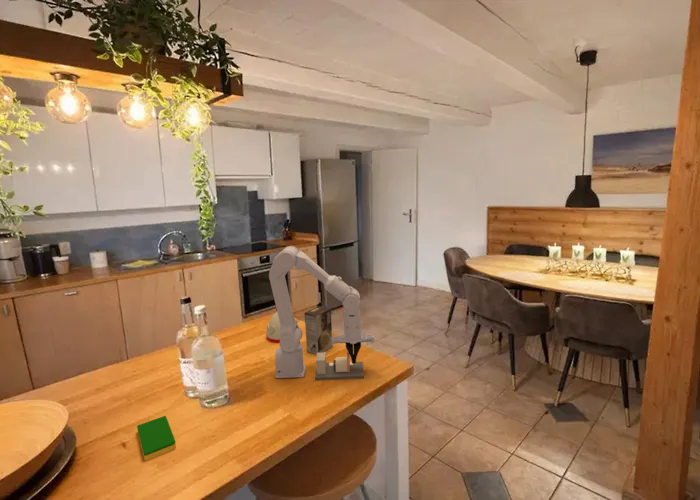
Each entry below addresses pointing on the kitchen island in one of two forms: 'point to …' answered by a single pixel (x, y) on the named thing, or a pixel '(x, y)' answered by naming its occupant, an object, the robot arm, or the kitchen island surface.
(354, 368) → the board
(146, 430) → the dish sponge
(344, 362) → the cream and red block
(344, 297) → the robot arm
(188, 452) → the kitchen island surface
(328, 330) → the coffee box
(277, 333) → the kitchen timer
